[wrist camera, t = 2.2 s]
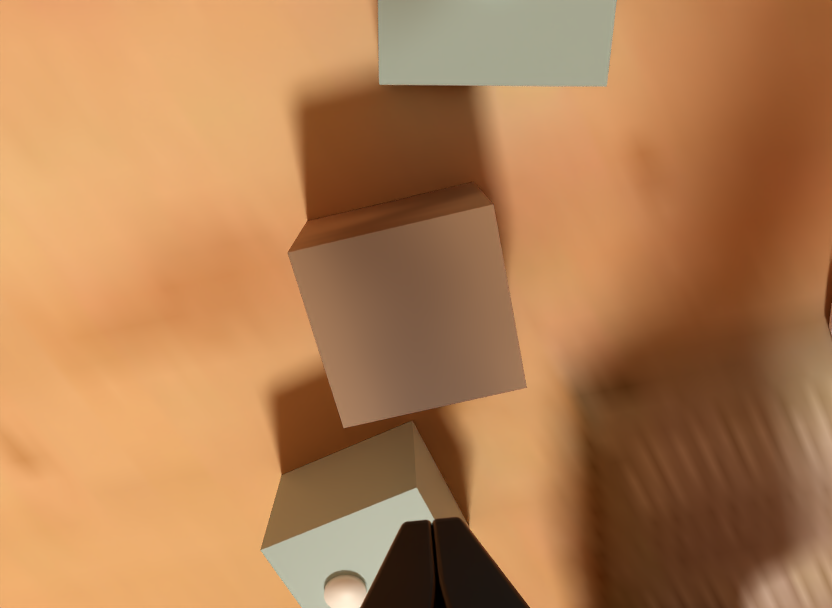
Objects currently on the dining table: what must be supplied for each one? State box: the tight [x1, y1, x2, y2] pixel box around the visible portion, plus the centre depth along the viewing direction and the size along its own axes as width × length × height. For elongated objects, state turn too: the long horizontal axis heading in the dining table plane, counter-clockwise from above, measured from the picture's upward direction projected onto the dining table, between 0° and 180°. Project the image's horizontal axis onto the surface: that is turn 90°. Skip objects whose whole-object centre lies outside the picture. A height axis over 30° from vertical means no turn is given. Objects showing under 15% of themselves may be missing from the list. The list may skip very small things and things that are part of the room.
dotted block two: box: [261, 421, 470, 608], centre depth 21 cm, size 6×6×4 cm
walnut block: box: [288, 182, 527, 428], centre depth 18 cm, size 6×6×4 cm
